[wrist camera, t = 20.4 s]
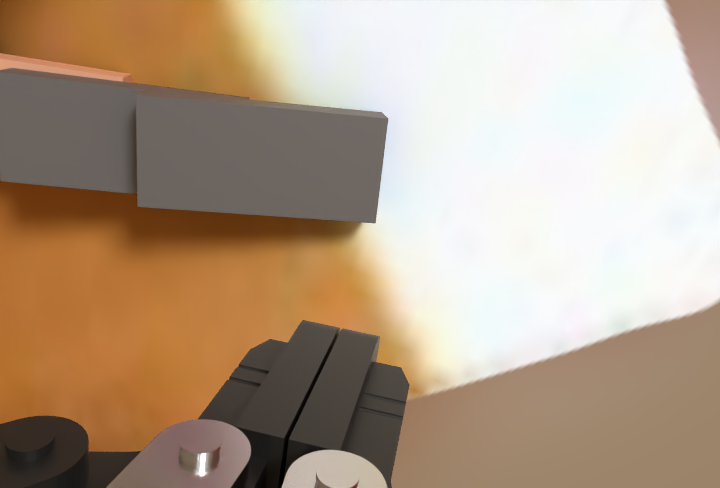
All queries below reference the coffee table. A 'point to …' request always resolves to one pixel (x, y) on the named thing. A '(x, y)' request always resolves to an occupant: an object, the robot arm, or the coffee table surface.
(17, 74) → the domino
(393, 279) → the coffee table surface
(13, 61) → the domino
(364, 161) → the domino
